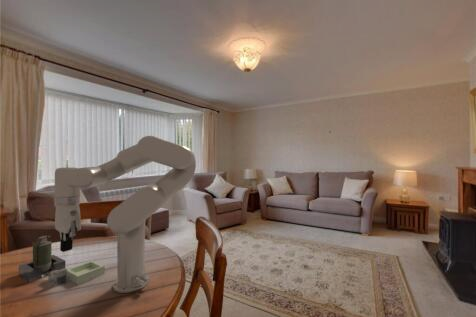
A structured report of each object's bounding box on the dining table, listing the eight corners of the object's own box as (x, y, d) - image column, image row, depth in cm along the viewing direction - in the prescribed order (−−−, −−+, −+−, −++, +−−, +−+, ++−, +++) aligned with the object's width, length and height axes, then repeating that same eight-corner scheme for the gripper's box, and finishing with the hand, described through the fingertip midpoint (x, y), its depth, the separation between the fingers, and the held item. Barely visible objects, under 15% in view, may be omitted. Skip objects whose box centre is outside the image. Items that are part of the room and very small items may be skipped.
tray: (104, 273, 95) (104, 265, 95) (77, 284, 87) (77, 276, 87) (92, 267, 100) (92, 260, 100) (65, 277, 92) (65, 270, 92)
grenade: (43, 268, 100) (43, 234, 100) (55, 269, 99) (55, 234, 99) (28, 275, 94) (28, 239, 94) (41, 276, 93) (41, 239, 93)
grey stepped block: (66, 282, 89) (66, 269, 89) (55, 286, 86) (55, 273, 86) (57, 276, 93) (57, 264, 93) (46, 280, 90) (46, 267, 90)
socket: (65, 269, 99) (65, 260, 99) (29, 282, 88) (29, 272, 88) (53, 263, 105) (53, 254, 105) (18, 274, 95) (18, 265, 95)
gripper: (88, 201, 84) (87, 251, 84) (69, 197, 92) (68, 243, 91) (64, 204, 77) (63, 258, 77) (46, 200, 85) (45, 249, 85)
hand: (66, 250), depth 84 cm, fingers closed
